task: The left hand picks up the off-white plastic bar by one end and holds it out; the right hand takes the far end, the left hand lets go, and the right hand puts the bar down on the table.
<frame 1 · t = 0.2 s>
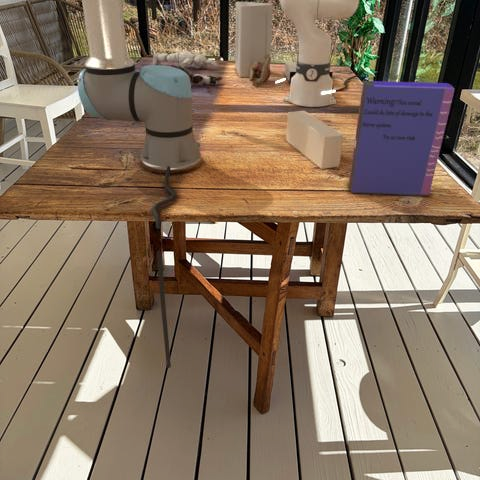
left hand: (174, 20, 152), 28 cm above the table, tool pointing down, fingers open, 13 cm apart
disc drive: (306, 78, 208), on the table
figurine: (185, 84, 196), on the table
white upright box: (253, 72, 218), on the table
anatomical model: (258, 83, 199), on the table
toy: (186, 68, 224), on the table
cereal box: (387, 190, 111), on the table
bar: (310, 152, 131), on the table
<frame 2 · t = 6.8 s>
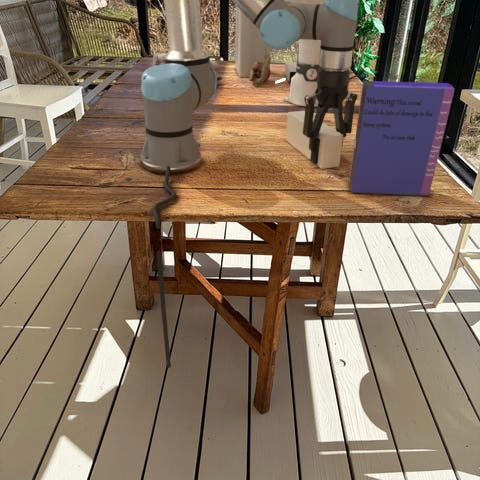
left hand: (324, 160, 124), 1 cm above the table, tool pointing down, fingers closed on bar, 5 cm apart
right hand: (312, 25, 136), 29 cm above the table, tool pointing down, fingers open, 8 cm apart
bar: (310, 152, 131), on the table, touching left hand
everything else where it was.
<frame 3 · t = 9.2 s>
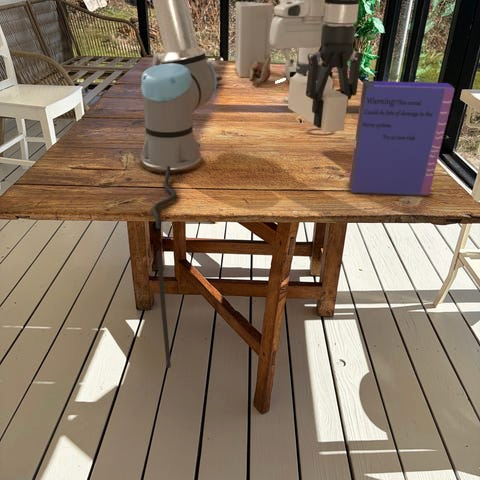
left hand: (327, 124, 120), 10 cm above the table, tool pointing down, fingers closed on bar, 5 cm apart
right hand: (305, 65, 126), 21 cm above the table, tool pointing down, fingers open, 8 cm apart
bar: (313, 118, 126), point 10 cm above the table, touching left hand
everything else where it was.
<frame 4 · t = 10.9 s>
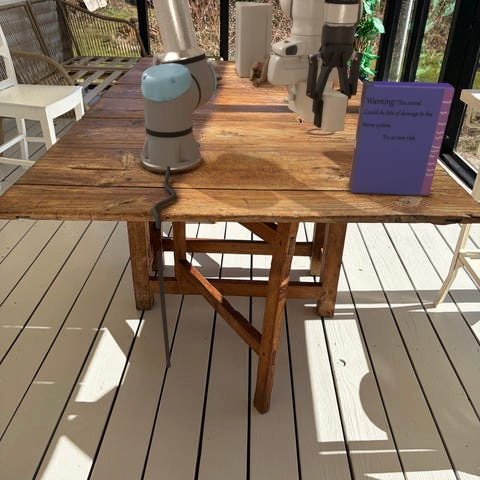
left hand: (327, 124, 120), 10 cm above the table, tool pointing down, fingers closed on bar, 5 cm apart
right hand: (302, 99, 130), 13 cm above the table, tool pointing down, fingers closed on bar, 5 cm apart
bar: (314, 118, 126), point 10 cm above the table, touching left hand, right hand
everything else where it was.
when the left hand's fingers open (10 cm above the table, at t = 11.7 s): bar stays where it is, held by the right hand.
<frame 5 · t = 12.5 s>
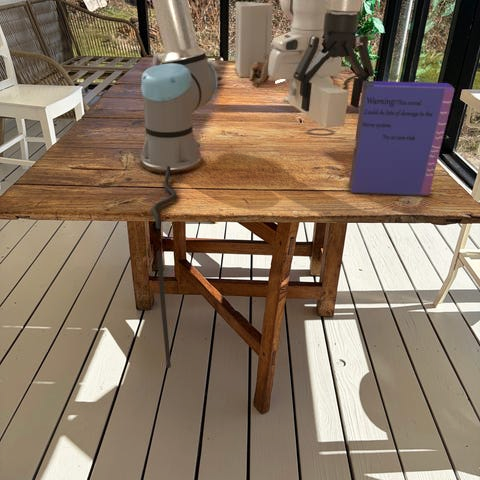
left hand: (330, 108, 117), 14 cm above the table, tool pointing down, fingers open, 13 cm apart
right hand: (303, 94, 130), 14 cm above the table, tool pointing down, fingers closed on bar, 5 cm apart
bar: (314, 113, 126), point 11 cm above the table, touching right hand
everything else where it was.
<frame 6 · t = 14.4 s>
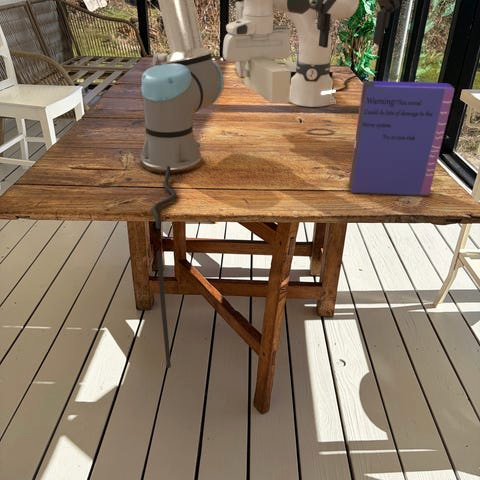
left hand: (350, 45, 105), 30 cm above the table, tool pointing down, fingers open, 13 cm apart
right hand: (256, 75, 143), 15 cm above the table, tool pointing down, fingers closed on bar, 5 cm apart
bar: (265, 92, 139), point 12 cm above the table, touching right hand
everything else where it was.
when the right hand's fingers open (4 cm above the table, at t = 18.1 s): bar stays where it is, on the table.
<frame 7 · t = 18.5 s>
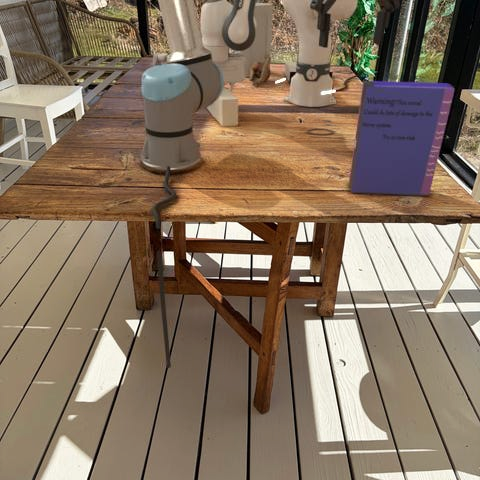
left hand: (350, 45, 105), 30 cm above the table, tool pointing down, fingers open, 13 cm apart
right hand: (215, 96, 163), 5 cm above the table, tool pointing down, fingers open, 8 cm apart
bar: (221, 115, 159), on the table
everything else where it was.
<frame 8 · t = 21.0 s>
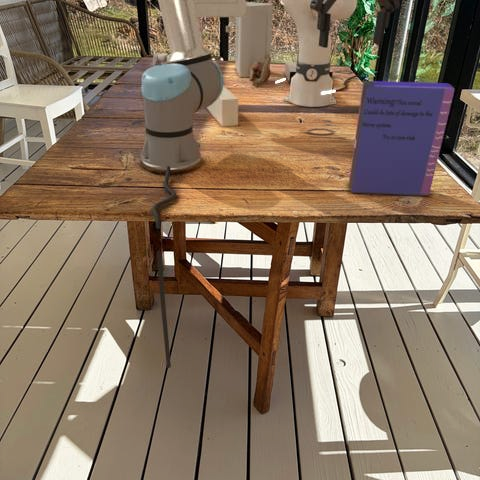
left hand: (350, 45, 105), 30 cm above the table, tool pointing down, fingers open, 13 cm apart
right hand: (214, 32, 152), 25 cm above the table, tool pointing down, fingers open, 8 cm apart
nothing on the table moved.
at the end: bar inside the target area (7.3 cm from its centre), on the table; the left hand is holding nothing; the right hand is holding nothing; bar at rest at the end (0.0 cm/s) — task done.
